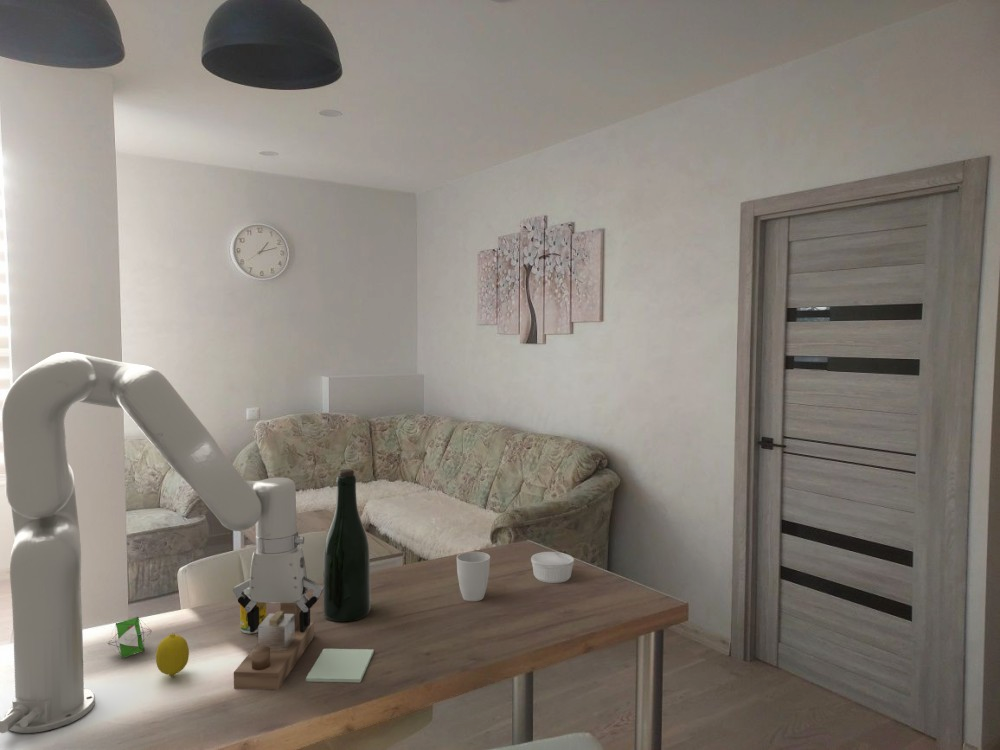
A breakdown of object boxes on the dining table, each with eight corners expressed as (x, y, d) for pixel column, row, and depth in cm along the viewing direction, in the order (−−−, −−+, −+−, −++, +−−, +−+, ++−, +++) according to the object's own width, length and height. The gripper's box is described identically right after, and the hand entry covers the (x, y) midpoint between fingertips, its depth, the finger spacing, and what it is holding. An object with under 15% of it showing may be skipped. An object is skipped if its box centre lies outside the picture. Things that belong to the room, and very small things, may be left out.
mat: (360, 682, 126) (360, 679, 126) (305, 681, 126) (305, 678, 126) (373, 652, 138) (373, 649, 138) (323, 651, 138) (323, 648, 138)
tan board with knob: (278, 689, 123) (277, 640, 123) (233, 688, 124) (233, 639, 123) (314, 636, 145) (313, 594, 145) (276, 635, 146) (275, 593, 145)
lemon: (167, 686, 124) (166, 643, 124) (149, 678, 127) (149, 635, 127) (195, 674, 129) (194, 632, 128) (177, 666, 132) (177, 625, 131)
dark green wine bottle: (376, 618, 155) (375, 472, 153) (328, 626, 150) (327, 475, 148) (363, 601, 164) (363, 464, 162) (318, 609, 160) (317, 467, 158)
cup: (496, 595, 169) (496, 555, 168) (477, 606, 162) (477, 564, 162) (468, 588, 173) (469, 549, 173) (449, 599, 166) (449, 558, 166)
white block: (284, 652, 131) (284, 622, 131) (258, 651, 131) (258, 622, 131) (294, 638, 137) (294, 609, 137) (269, 638, 137) (269, 609, 137)
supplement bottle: (262, 621, 152) (262, 579, 152) (269, 630, 148) (269, 586, 147) (237, 627, 149) (236, 583, 149) (243, 636, 145) (242, 591, 144)
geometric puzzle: (101, 640, 138) (109, 615, 134) (137, 629, 143) (146, 605, 140) (113, 670, 134) (122, 646, 131) (149, 658, 140) (159, 634, 136)
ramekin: (582, 577, 183) (582, 557, 182) (556, 588, 174) (557, 567, 174) (548, 567, 190) (548, 548, 190) (522, 578, 182) (522, 558, 181)
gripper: (326, 537, 137) (328, 621, 138) (240, 537, 137) (242, 621, 138) (315, 549, 129) (318, 638, 130) (224, 549, 130) (227, 638, 131)
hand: (279, 629), depth 134 cm, fingers open, 9 cm apart
